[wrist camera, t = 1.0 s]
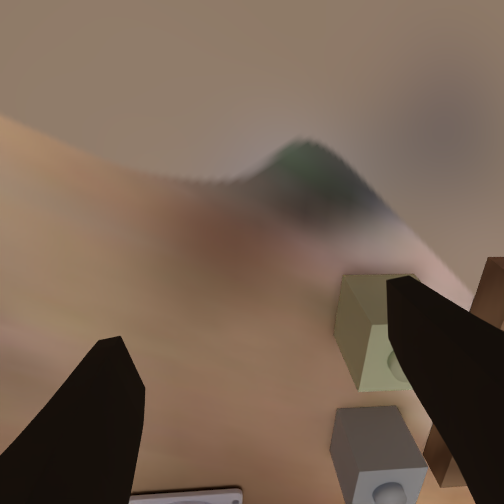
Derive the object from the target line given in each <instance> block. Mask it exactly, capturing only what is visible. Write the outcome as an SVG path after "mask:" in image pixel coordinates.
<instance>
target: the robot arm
mask: <svg viewBox="0 0 504 504" xmlns="http://www.w3.org/2000/svg"><path fill="white" fill-rule="evenodd" d="M386 291H387V321H388V339H389V341H390V344H391V346H392V348H393V351H394V353H395V355H396V358H397V360H398V362H399V364H400V367H401V369H402V371H403V373H404V374H405V376H406V378H407V380H408V381H409V383H410V385H411V386H412V388H413V390H414V392H415V393H416V395H417V397H418V398H419V400H420V402H421V403H422V405H423V407H424V408H425V410H426V412H427V413H428V415H429V417H430V418H431V420H432V422H433V423H434V425H435V427H436V429H437V430H438V432H439V434H440V435H441V437H442V439H443V440H444V442H445V444H446V445H447V447H448V449H449V451H450V452H451V454H452V456H453V458H454V460H455V462H456V463H457V465H458V467H459V470H460V472H461V474H462V476H463V478H464V480H465V482H466V484H467V486H468V488H469V491H470V493H471V495H472V497H473V499H474V501H475V503H476V504H504V331H503V330H501V329H499V328H497V327H495V326H493V325H491V324H489V323H488V322H486V321H484V320H482V319H480V318H479V317H477V316H475V315H473V314H472V313H470V312H468V311H467V310H465V309H463V308H461V307H460V306H458V305H456V304H455V303H453V302H452V301H450V300H448V299H447V298H445V297H443V296H442V295H440V294H439V293H437V292H435V291H434V290H432V289H431V288H429V287H427V286H426V285H424V284H423V283H421V282H420V281H418V280H416V279H415V278H413V277H411V276H410V275H407V276H403V277H398V278H393V279H388V280H386ZM144 408H145V386H144V384H143V382H142V380H141V378H140V376H139V374H138V372H137V369H136V367H135V365H134V363H133V361H132V359H131V357H130V355H129V352H128V350H127V348H126V346H125V344H124V342H123V340H122V338H121V336H117V337H112V338H108V339H103V340H99V341H98V342H97V343H96V344H95V345H94V346H93V347H92V349H91V350H90V351H89V352H88V353H87V355H86V356H85V357H84V358H83V360H82V361H81V362H80V363H79V365H78V366H77V367H76V368H75V370H74V371H73V372H72V373H71V375H70V376H69V377H68V378H67V380H66V381H65V382H64V383H63V385H62V386H61V387H60V388H59V389H58V391H57V392H56V393H55V394H54V396H53V397H52V398H51V399H50V401H49V402H48V403H47V404H46V405H45V406H44V408H43V409H42V410H41V411H40V412H39V413H38V414H37V416H36V417H35V418H34V419H33V420H32V421H31V422H30V423H29V425H28V426H27V427H26V428H25V429H24V430H23V431H22V433H21V434H20V435H19V436H18V437H17V438H16V439H15V440H14V442H13V443H12V444H11V445H10V446H9V447H8V448H7V449H6V450H5V451H4V452H3V453H2V454H1V455H0V504H242V502H243V494H242V491H241V490H240V489H236V488H235V489H220V490H206V491H191V492H177V493H162V494H148V495H134V496H130V495H131V489H132V484H133V479H134V473H135V468H136V463H137V457H138V452H139V446H140V441H141V435H142V430H143V422H144Z"/></svg>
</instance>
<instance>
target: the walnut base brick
mask: <svg viewBox="0 0 504 504" xmlns="http://www.w3.org/2000/svg"><path fill="white" fill-rule="evenodd" d="M470 313H472V314H473V315H475V316H477V317H479V318H480V319H482V320H484V321H486V322H488V323H489V324H491V325H493V326H495V327H497V328H499V329H501V330H503V331H504V257H488V258H487V262H486V264H485V268H484V270H483V274H482V277H481V280H480V283H479V286H478V289H477V292H476V295H475V298H474V301H473V304H472V307H471V310H470ZM423 456H424V458H425V459H426V461H427V463H428V465H429V467H430V469H431V471H432V473H433V475H434V477H435V478H436V480H437V482H438V484H439V486H440V488H446V487H460V486H467V484H466V482H465V480H464V478H463V476H462V474H461V472H460V470H459V467H458V465H457V463H456V462H455V460H454V458H453V456H452V454H451V452H450V451H449V449H448V447H447V445H446V444H445V442H444V440H443V439H442V437H441V435H440V434H439V432H438V430H437V429H436V427H435V425H434V423H433V426H432V429H431V432H430V435H429V438H428V441H427V444H426V447H425V450H424V453H423Z"/></svg>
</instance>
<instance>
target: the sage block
mask: <svg viewBox="0 0 504 504" xmlns="http://www.w3.org/2000/svg"><path fill="white" fill-rule="evenodd" d="M407 275H410V276H411V277H413V278H415V279H416V280H418V281H420V280H419V279H418V278H417V277H416V276H415V275H414V274H380V275H343V277H342V283H341V290H340V296H339V303H338V309H337V316H336V322H335V328H334V337H335V339H336V342H337V344H338V346H339V349H340V351H341V353H342V356H343V358H344V360H345V362H346V365H347V367H348V369H349V372H350V374H351V376H352V379H353V381H354V383H355V386H356V388H357V390H358V392H372V391H394V390H413V388H412V386H411V385H410V383H409V381H408V380H407V378H406V376H405V374H404V373H403V371H402V369H401V367H400V364H399V362H398V360H397V358H396V355H395V353H394V351H393V348H392V346H391V344H390V341H389V339H388V321H387V291H386V280H388V279H393V278H398V277H403V276H407ZM420 282H421V281H420Z"/></svg>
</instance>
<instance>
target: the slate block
mask: <svg viewBox="0 0 504 504" xmlns="http://www.w3.org/2000/svg"><path fill="white" fill-rule="evenodd" d="M330 453H331V457H332V460H333V463H334V467H335V470H336V473H337V477H338V480H339V483H340V487H341V490H342V493H343V497H344V500H345V503H346V504H416V501H417V499H418V496H419V493H420V490H421V487H422V484H423V481H424V478H425V475H426V472H427V469H428V466H427V464H426V462H425V460H424V458H423V456H422V454H421V452H420V450H419V449H418V447H417V445H416V443H415V441H414V439H413V437H412V435H411V433H410V431H409V429H408V427H407V426H406V424H405V422H404V420H403V418H402V416H401V414H400V412H399V410H398V408H397V406H379V407H360V408H340V409H337V412H336V417H335V423H334V429H333V434H332V440H331V446H330Z"/></svg>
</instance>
